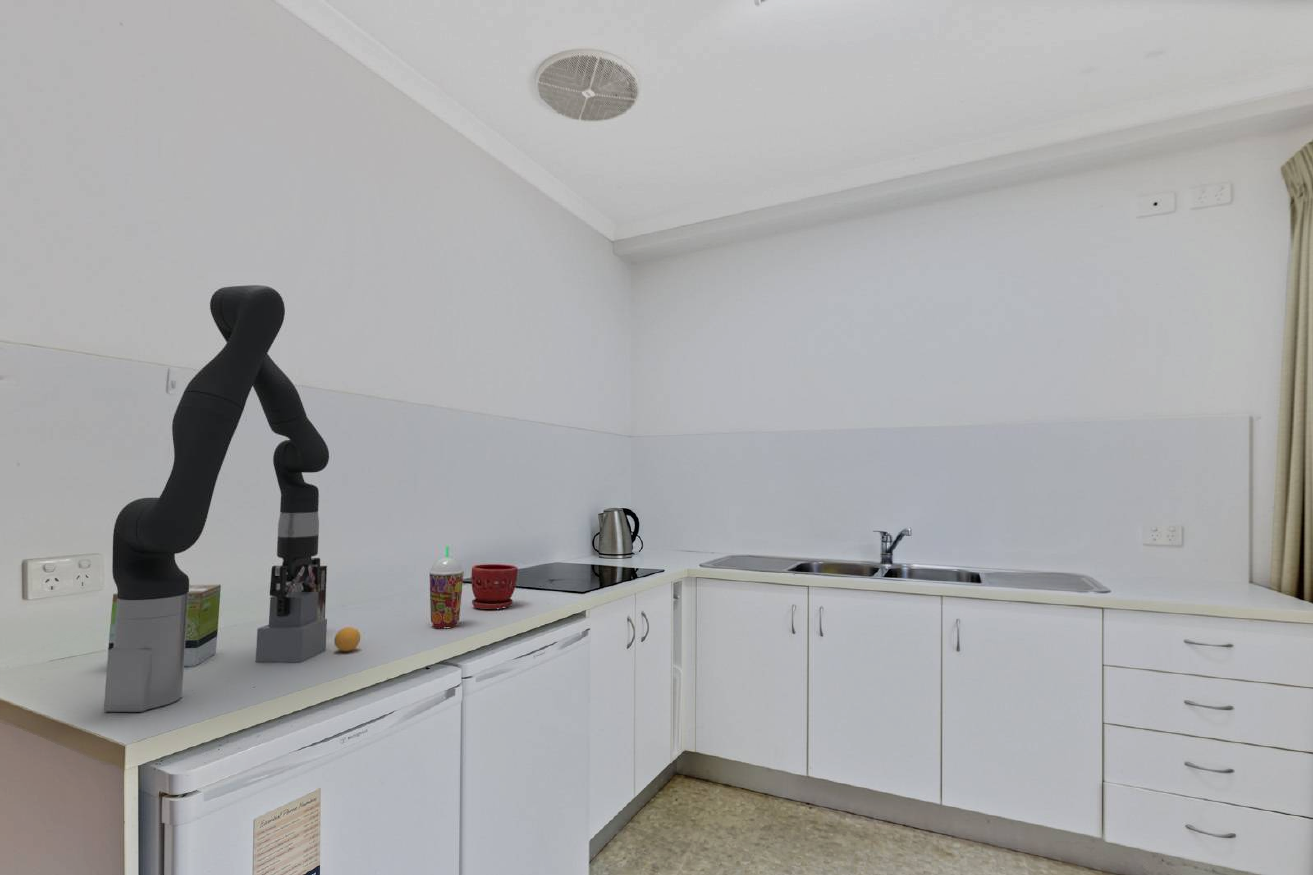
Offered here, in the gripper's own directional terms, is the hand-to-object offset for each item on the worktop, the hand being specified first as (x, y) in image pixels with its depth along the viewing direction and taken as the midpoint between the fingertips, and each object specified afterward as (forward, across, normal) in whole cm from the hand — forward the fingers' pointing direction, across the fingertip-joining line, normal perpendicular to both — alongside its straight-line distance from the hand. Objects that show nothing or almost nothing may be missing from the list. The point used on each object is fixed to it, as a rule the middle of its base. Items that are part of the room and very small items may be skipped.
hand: (295, 611), depth 130 cm
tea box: (+9, -5, +23) cm, 25 cm away
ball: (+7, +4, -9) cm, 12 cm away
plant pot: (+10, +53, -28) cm, 61 cm away
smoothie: (+10, +28, -22) cm, 37 cm away
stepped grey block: (+9, 0, 0) cm, 9 cm away
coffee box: (+9, +16, +8) cm, 20 cm away
